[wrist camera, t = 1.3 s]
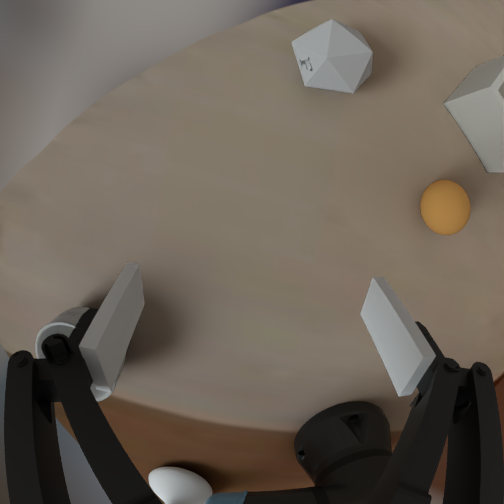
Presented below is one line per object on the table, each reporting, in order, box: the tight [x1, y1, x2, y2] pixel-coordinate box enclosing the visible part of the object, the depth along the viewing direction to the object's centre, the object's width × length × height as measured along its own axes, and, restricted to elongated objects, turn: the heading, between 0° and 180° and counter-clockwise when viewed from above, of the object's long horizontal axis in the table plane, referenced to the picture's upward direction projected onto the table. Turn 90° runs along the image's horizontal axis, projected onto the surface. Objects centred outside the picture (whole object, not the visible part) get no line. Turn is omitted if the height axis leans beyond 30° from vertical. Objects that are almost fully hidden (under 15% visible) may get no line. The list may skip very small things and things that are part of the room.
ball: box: [420, 180, 470, 235], centre depth 30 cm, size 6×6×6 cm
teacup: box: [36, 307, 126, 401], centre depth 31 cm, size 14×11×8 cm
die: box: [291, 19, 373, 93], centre depth 26 cm, size 8×9×10 cm
